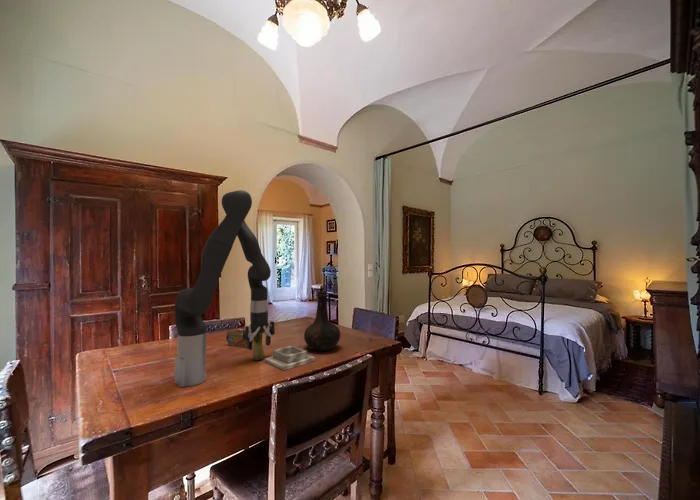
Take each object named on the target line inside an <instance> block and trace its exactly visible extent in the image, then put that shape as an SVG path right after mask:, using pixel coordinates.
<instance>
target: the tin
mask: <svg viewBox="0 0 700 500" xmlns="http://www.w3.org/2000/svg"><path fill="white" fill-rule="evenodd" d="M250 331H251V329H249V332H248V336H249V333H250ZM225 338H226V342H227V344H228V345H229V346H231V347H237V348H247V341H246V340H243V328H234V329H233V328H232V329H230V330H228V332H227V333H226V337H225ZM252 345H254V338H253V339H252Z"/></svg>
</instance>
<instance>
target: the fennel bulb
mask: <svg viewBox="0 0 700 500" xmlns="http://www.w3.org/2000/svg"><path fill="white" fill-rule="evenodd" d="M264 357H265V351H264V347H263V333H261V332H260V333H259V334H256V336H255V337H254V342H253V346H252V359H253V360H254V361H261V360H263V359H265V358H264Z"/></svg>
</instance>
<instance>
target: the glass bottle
mask: <svg viewBox="0 0 700 500" xmlns="http://www.w3.org/2000/svg"><path fill="white" fill-rule="evenodd" d="M327 293H328V291H326V290H320V291H317V294H316V297H317V305H316V313H315V318H314V321H313V323H311V324H310V325H308V326H307V327H306V328H305V330H304V334H303V335H304V336H303V339H304V342H305V343H306V345H307V346H308V348H310V349H312V350H314V351H318V352H324V351H325V352H326V351H329V350H331V349H333V348H335V347H336V346H337V345H338V344H339V342H340V339H341V330H340V328H339V327H338V326H337V325H336V324H334V323H332V322H330V320H329V313H328V303H327V302H328V299H327V297H328V296H329V294H327Z"/></svg>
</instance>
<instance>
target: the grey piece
mask: <svg viewBox="0 0 700 500" xmlns="http://www.w3.org/2000/svg"><path fill="white" fill-rule="evenodd" d="M312 361H313V362H315V361H316V357H315V356H313V355H311V354H308V350H307V349H306V350H305V349H302V348H301V347H298V346H297V347H296V346H294V345H289V346H285V347H281V348H278V349H274V350H272V356H269V357H266V358H264V363H266V364H268V365H270V366H272V367H275V368H277V369H279V370H281V369H282V371H283V370H284V371H287V369H288V370H291V369H293V368H297V367H300V366H303V365H306V364H310V363H312ZM290 368H291V369H290Z"/></svg>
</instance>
